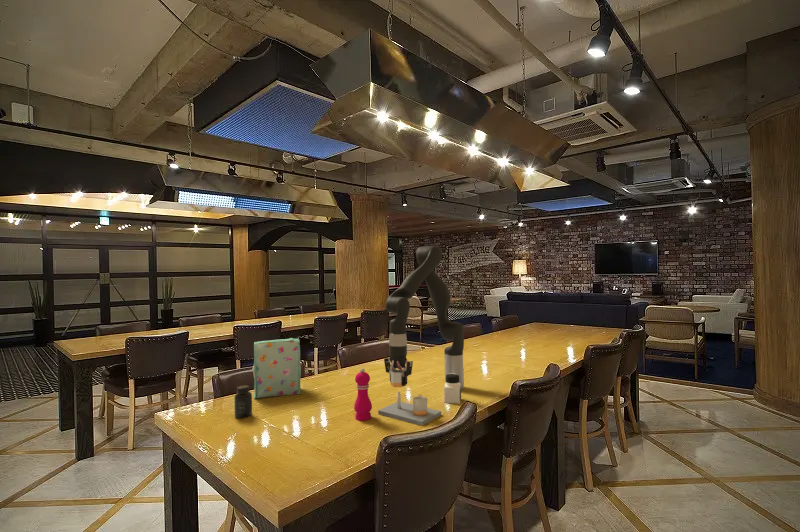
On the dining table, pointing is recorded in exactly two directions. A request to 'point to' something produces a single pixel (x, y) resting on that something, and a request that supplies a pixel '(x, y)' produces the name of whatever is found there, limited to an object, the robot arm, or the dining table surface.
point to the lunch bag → (276, 368)
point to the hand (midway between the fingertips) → (398, 384)
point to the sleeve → (396, 378)
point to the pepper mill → (362, 397)
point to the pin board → (411, 411)
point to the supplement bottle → (243, 402)
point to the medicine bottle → (452, 389)
